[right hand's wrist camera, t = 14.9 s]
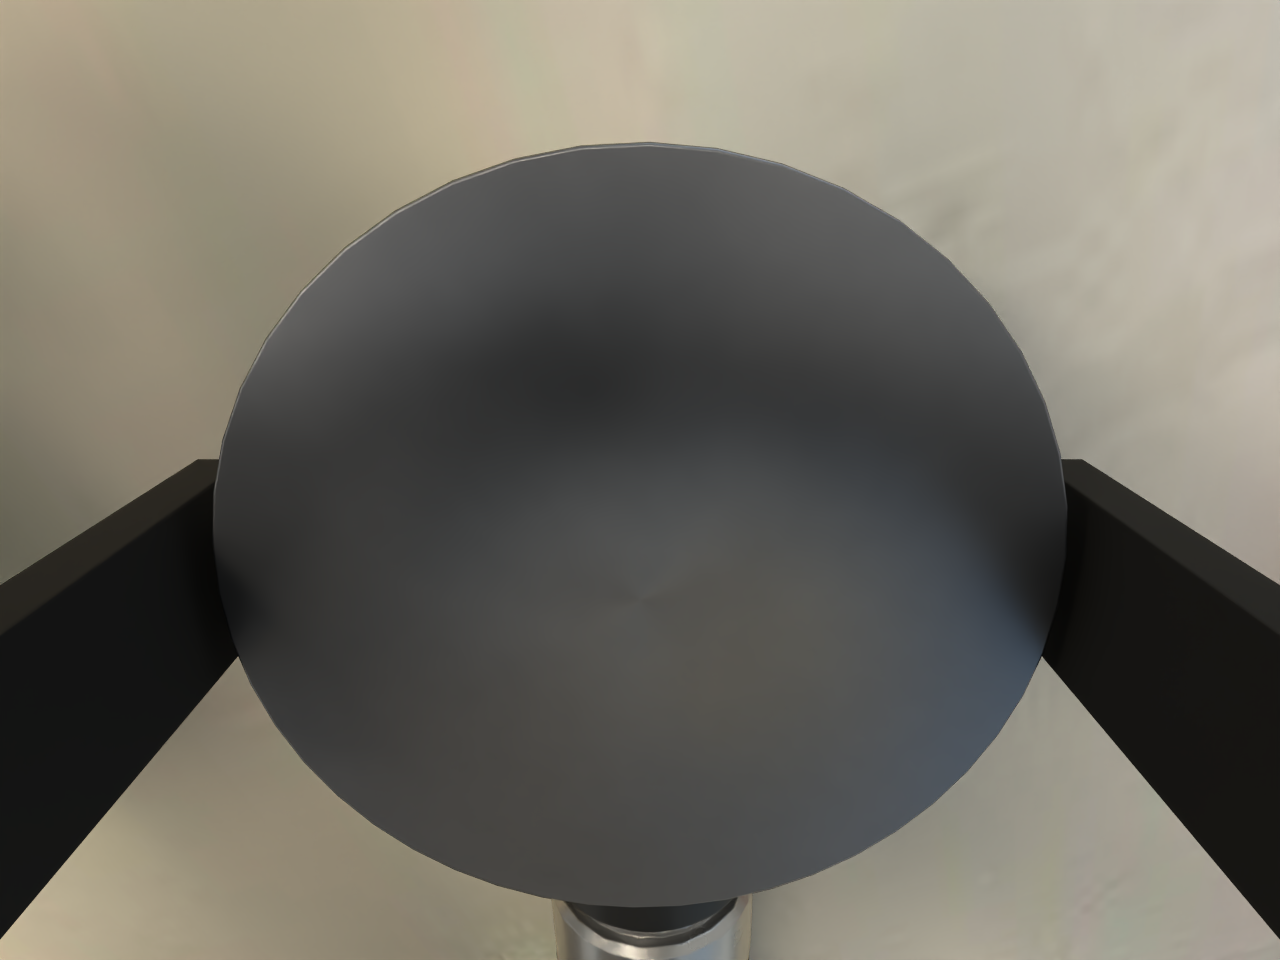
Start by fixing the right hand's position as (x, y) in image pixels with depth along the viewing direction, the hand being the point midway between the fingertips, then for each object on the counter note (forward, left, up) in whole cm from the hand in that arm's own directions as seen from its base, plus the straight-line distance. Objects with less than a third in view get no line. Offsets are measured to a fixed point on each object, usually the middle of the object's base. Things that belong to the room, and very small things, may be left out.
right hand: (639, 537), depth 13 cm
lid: (0, 0, +2) cm, 2 cm away
